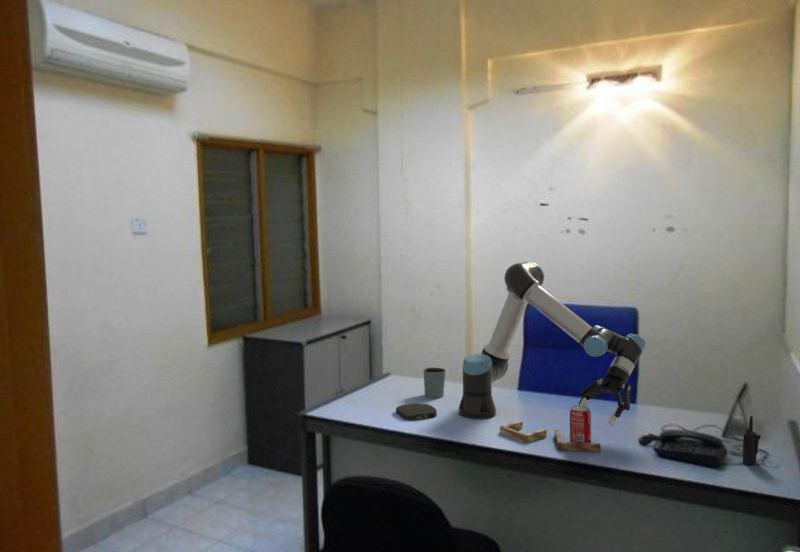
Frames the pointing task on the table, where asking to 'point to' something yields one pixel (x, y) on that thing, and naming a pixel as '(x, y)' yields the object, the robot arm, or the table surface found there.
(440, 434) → the table surface
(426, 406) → the media streaming box
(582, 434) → the soda can
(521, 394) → the table surface
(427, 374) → the grey-green cup
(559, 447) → the bracket
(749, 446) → the two-way radio
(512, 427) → the wooden u-channel
